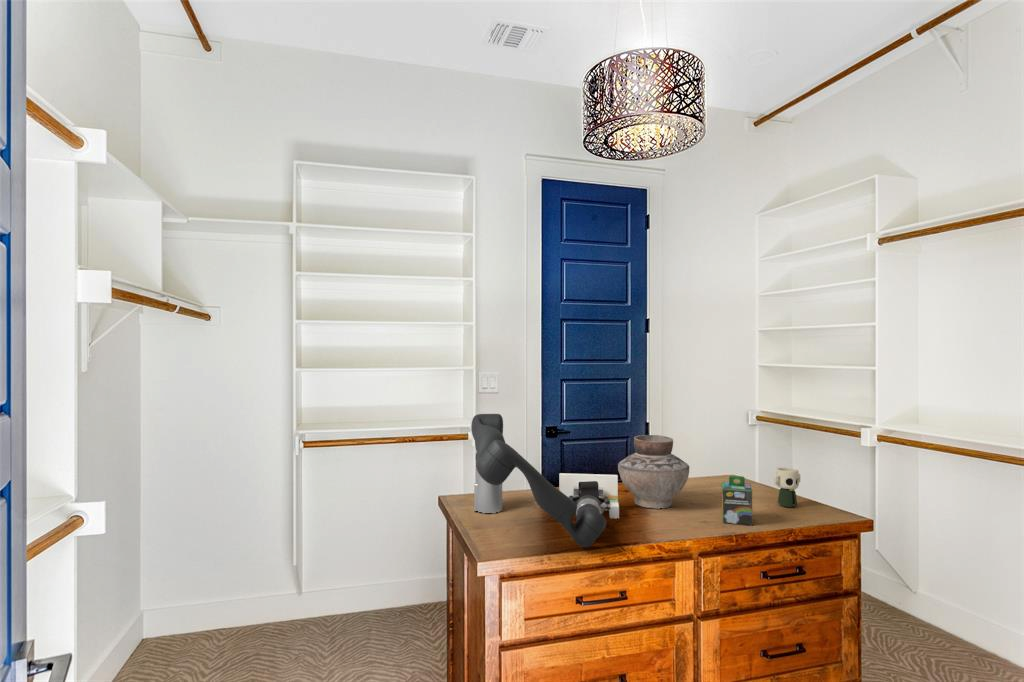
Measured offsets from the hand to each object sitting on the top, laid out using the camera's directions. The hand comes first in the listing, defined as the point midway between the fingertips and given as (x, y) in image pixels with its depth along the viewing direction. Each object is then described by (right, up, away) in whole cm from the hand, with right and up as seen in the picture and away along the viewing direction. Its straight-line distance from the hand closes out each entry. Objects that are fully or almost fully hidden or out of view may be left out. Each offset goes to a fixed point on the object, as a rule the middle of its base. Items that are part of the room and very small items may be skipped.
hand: (588, 496), depth 198 cm
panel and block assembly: (0, -7, +4) cm, 8 cm away
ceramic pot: (+25, -7, +14) cm, 30 cm away
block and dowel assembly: (+3, -6, +4) cm, 8 cm away
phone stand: (0, -7, -2) cm, 7 cm away
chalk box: (+48, -7, -5) cm, 48 cm away
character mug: (+72, -7, +12) cm, 73 cm away
